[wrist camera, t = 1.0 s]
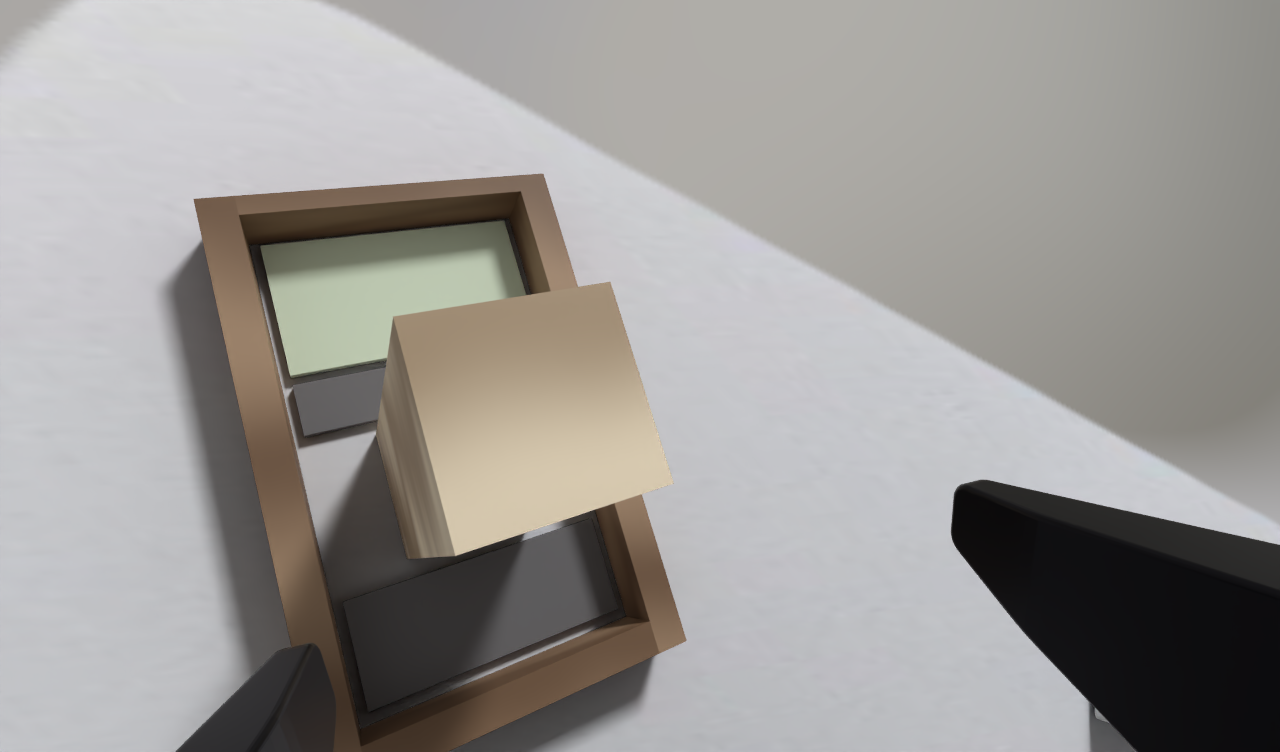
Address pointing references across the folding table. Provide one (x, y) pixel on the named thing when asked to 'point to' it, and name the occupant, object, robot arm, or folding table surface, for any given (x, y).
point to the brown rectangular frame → (411, 739)
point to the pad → (379, 287)
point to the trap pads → (457, 582)
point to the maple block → (512, 418)
